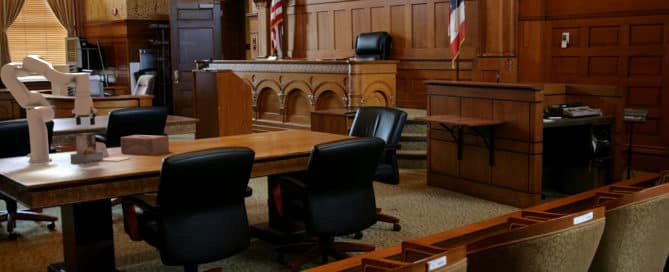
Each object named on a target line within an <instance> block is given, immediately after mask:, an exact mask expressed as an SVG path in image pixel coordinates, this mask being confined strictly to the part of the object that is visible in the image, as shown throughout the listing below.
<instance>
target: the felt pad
mask: <svg viewBox="0 0 669 272" xmlns="http://www.w3.org/2000/svg"><path fill="white" fill-rule="evenodd" d="M127 160H131V157H127V156H125V157H123V156H112V157H108V158H103V159H102V160H100V161H99V162H122V161H127Z"/></svg>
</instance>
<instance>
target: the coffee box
mask: <svg viewBox="0 0 669 272" xmlns="http://www.w3.org/2000/svg"><path fill="white" fill-rule="evenodd" d="M96 142H97V141H96V133H95V132H94V133H93V132H85V133H78V134H75V144H76V145H75V146H76V153H77V154H81V155H87V154H92V153H96Z"/></svg>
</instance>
